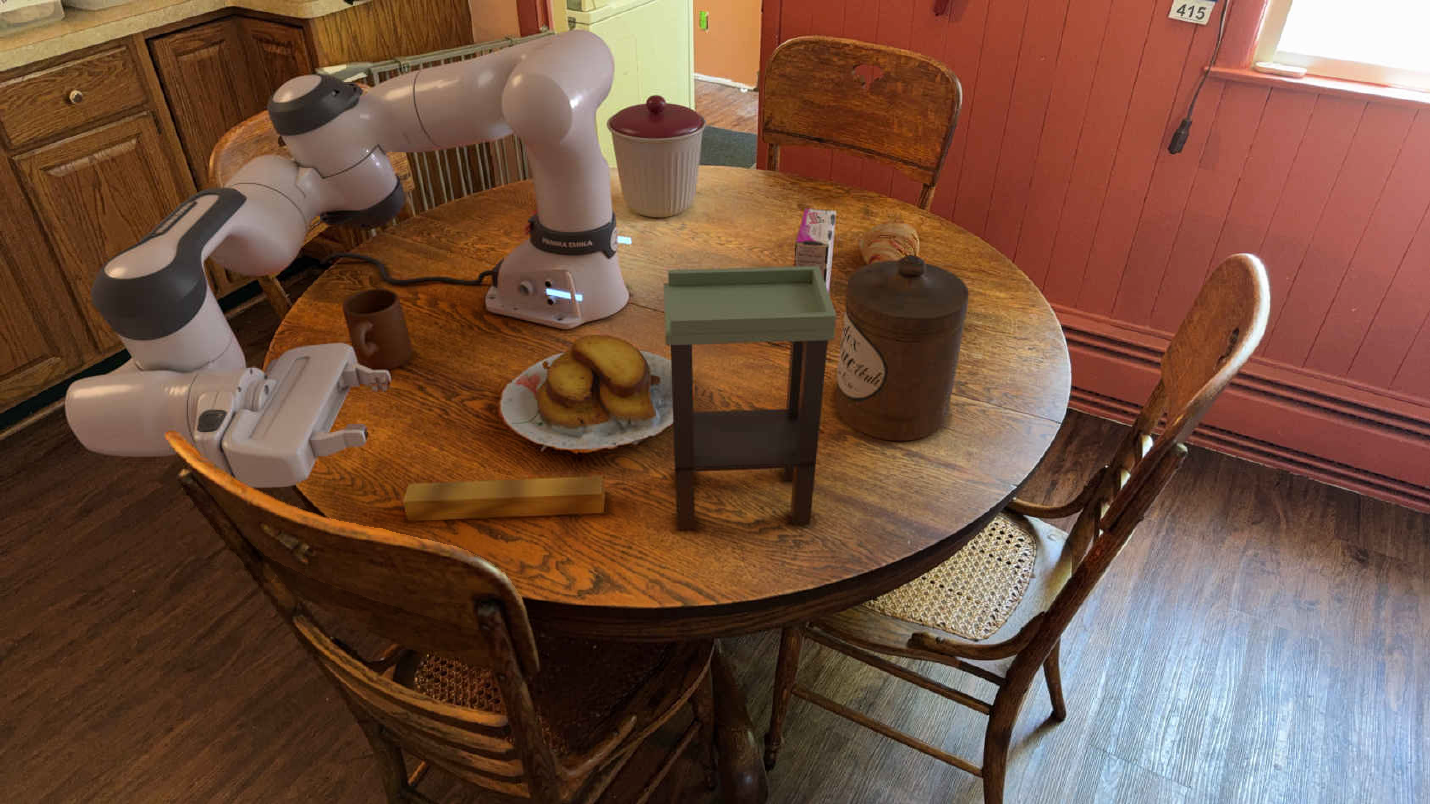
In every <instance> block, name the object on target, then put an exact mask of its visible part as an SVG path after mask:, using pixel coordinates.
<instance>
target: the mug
mask: <svg viewBox="0 0 1430 804" xmlns="http://www.w3.org/2000/svg"><path fill="white" fill-rule="evenodd" d="M342 310H343V311H342V312H343V316H344V320H345V324H346V327H347V331H348V334H349V337H350V341H351V347H353V349H354V352H355V355H356V358H357V362H358V364H360V365H362V366H365V367H367V368H369V369H372V370H387V371H392V370H394V369H397V368H399V367H401V366H403V365H405V364H406V363H407V362H408V361H409V360H410V359H411V357H412V355H413V346H412V342H411V338H410V334H409V329H408V325H407V321H406V317H405V313H404V309H403V305H402V303H401V300H400V297H399V295H398V294H397V293H396V292H395V291H393V290H391V289H387V288H370V289H365V290H361V291H358V292H356V293H354V294H351V295H350V296H348V297H347V298H346V299H345V300H344V302H343V303H342Z"/></svg>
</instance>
